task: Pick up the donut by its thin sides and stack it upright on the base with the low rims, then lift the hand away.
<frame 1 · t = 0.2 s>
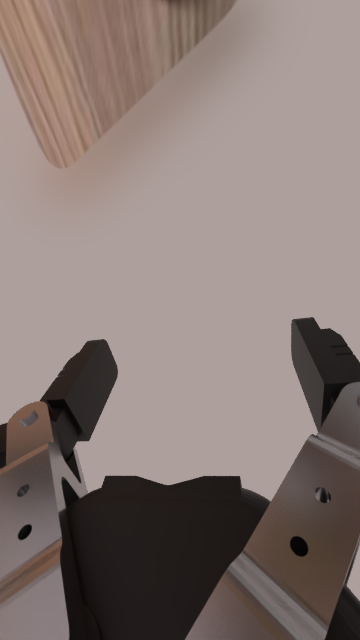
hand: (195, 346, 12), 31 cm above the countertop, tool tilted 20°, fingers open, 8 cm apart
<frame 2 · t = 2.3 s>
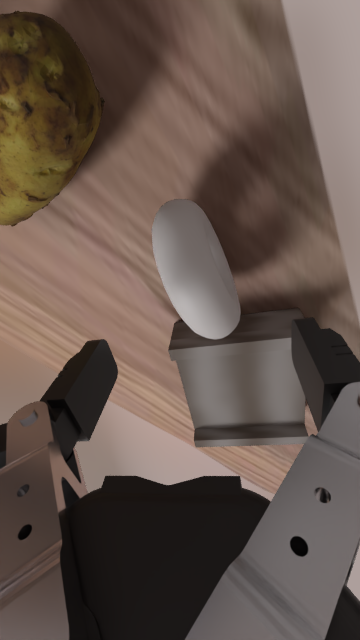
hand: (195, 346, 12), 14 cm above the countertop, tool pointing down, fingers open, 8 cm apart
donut: (202, 248, 23), on the countertop
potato: (50, 143, 20), on the countertop
base: (240, 369, 30), on the countertop
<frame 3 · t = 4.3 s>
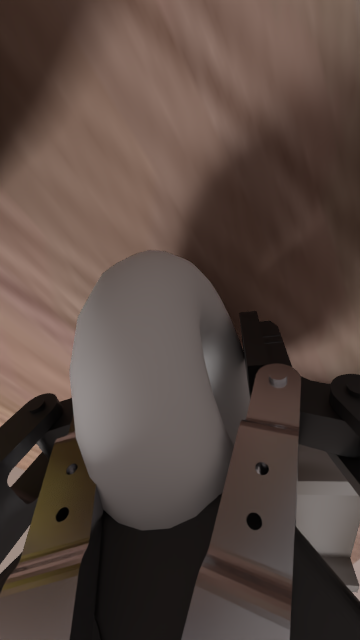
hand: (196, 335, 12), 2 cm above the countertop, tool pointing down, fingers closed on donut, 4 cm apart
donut: (198, 314, 14), on the countertop, touching gripper
base: (254, 471, 20), on the countertop
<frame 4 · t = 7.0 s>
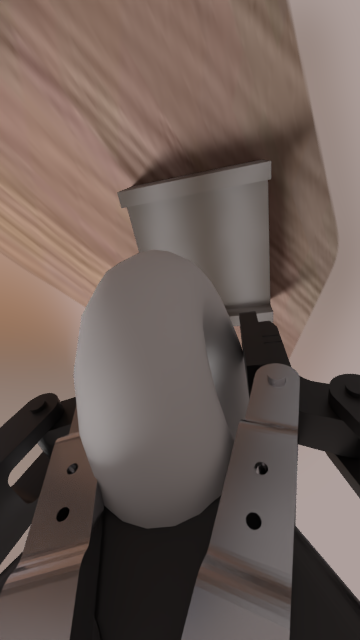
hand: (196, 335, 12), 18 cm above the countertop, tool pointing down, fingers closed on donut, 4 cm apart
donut: (198, 314, 14), point 16 cm above the countertop, touching gripper
base: (204, 248, 28), on the countertop
when the fingers open (7 cm above the countertop, at t = 9.9 s): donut drops 2 cm, resting on base.
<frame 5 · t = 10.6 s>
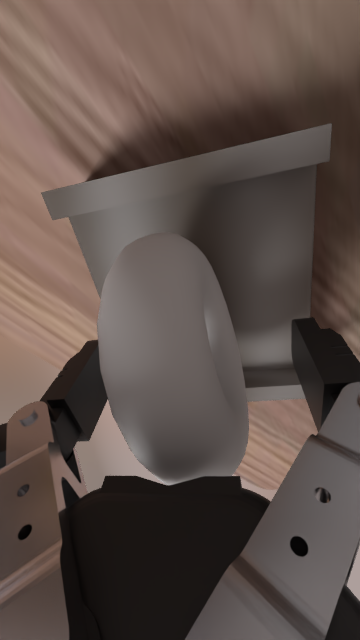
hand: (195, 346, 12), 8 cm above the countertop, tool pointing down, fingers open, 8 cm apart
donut: (196, 296, 16), point 3 cm above the countertop, touching base
base: (202, 278, 18), on the countertop
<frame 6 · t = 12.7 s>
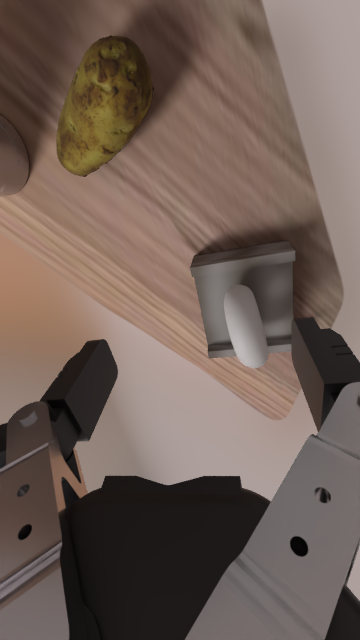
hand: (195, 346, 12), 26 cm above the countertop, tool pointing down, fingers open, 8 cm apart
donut: (243, 305, 36), point 3 cm above the countertop, touching base
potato: (111, 119, 30), on the countertop
base: (244, 296, 39), on the countertop
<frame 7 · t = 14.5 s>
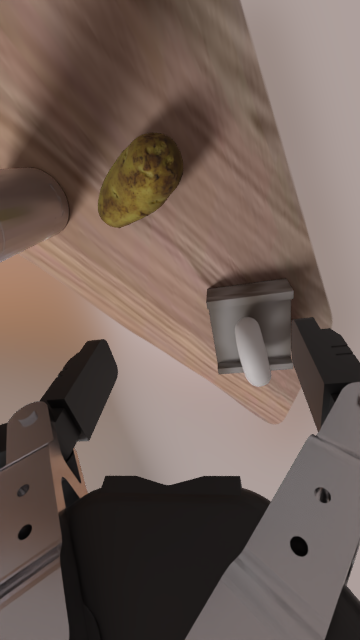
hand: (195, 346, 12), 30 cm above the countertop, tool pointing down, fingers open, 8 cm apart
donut: (249, 331, 43), point 3 cm above the countertop, touching base
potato: (142, 181, 36), on the countertop
base: (248, 322, 45), on the countertop
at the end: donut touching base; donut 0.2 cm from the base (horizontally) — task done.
